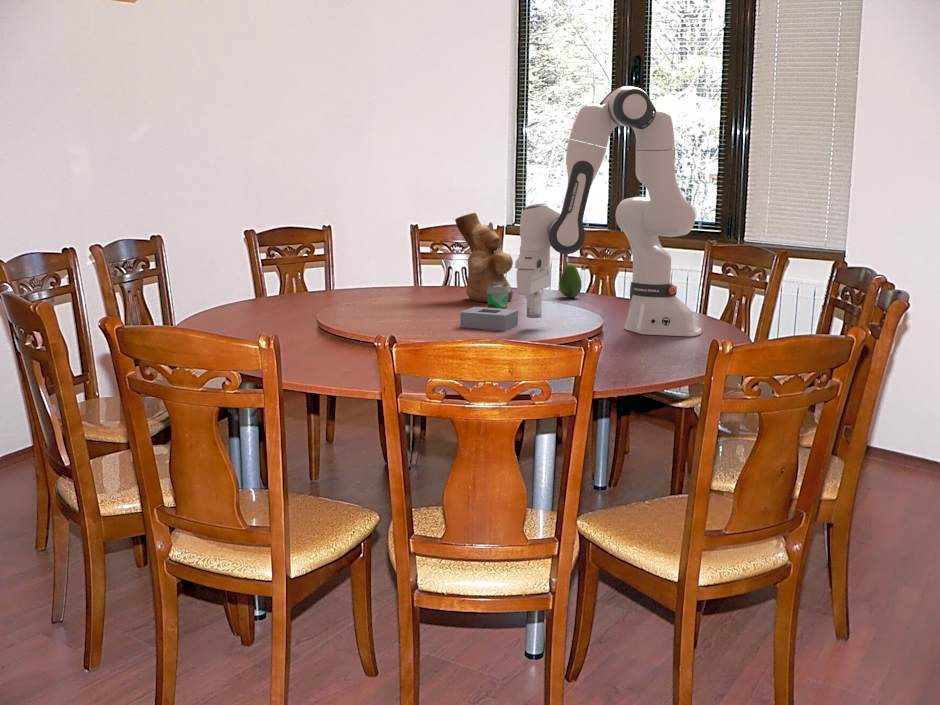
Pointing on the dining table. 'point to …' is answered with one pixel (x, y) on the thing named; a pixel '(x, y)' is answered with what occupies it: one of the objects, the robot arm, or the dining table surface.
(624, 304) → the dining table surface
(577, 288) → the avocado
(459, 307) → the dining table surface
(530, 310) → the cylinder
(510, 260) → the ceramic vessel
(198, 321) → the dining table surface
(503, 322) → the slate jig
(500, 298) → the food container
